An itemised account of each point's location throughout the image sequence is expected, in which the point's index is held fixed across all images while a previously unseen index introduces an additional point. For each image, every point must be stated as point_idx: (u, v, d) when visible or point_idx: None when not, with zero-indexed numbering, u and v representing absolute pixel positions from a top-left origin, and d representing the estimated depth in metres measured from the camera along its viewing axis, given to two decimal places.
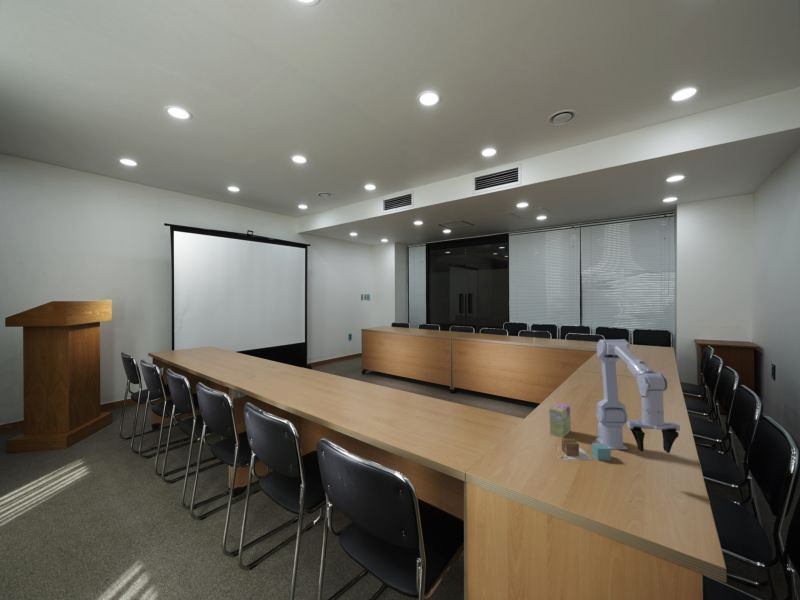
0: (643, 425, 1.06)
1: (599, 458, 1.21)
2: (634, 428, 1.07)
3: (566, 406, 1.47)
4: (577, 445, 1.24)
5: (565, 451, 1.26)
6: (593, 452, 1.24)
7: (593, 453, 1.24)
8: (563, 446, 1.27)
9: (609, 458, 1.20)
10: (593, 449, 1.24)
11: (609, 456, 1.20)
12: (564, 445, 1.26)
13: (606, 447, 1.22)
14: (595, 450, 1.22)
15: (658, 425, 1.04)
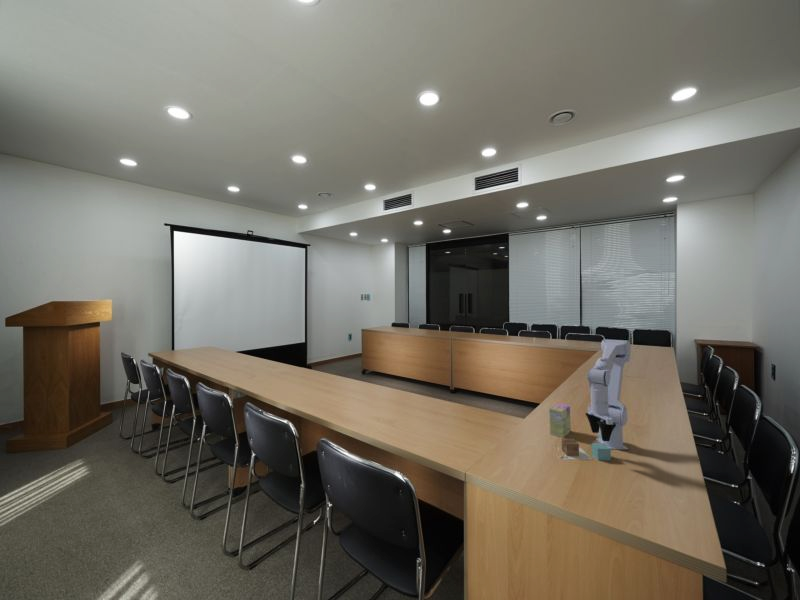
0: (589, 410, 1.27)
1: (599, 458, 1.21)
2: None
3: (566, 406, 1.47)
4: (577, 445, 1.24)
5: (565, 451, 1.26)
6: (593, 452, 1.24)
7: (593, 453, 1.24)
8: (563, 446, 1.27)
9: (609, 458, 1.20)
10: (593, 449, 1.24)
11: (609, 456, 1.20)
12: (564, 445, 1.26)
13: (606, 447, 1.22)
14: (595, 450, 1.22)
15: (591, 411, 1.23)
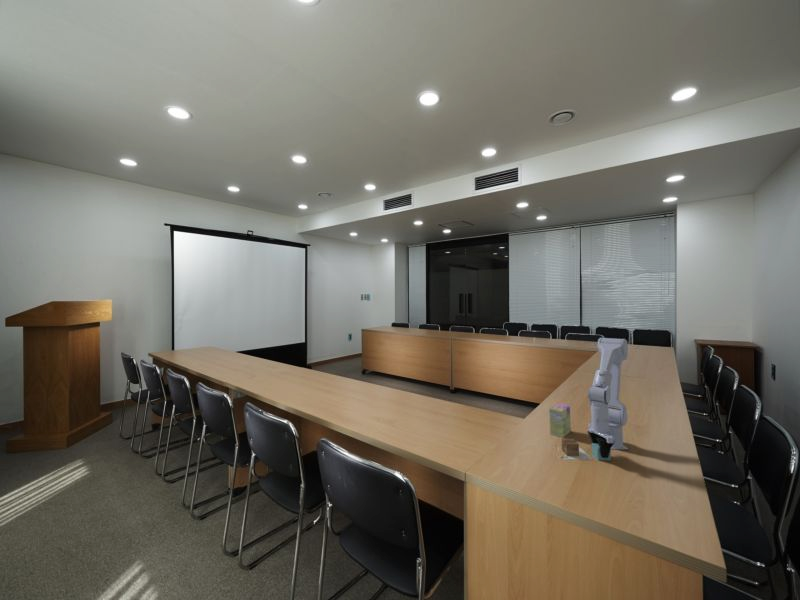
0: (590, 426, 1.27)
1: (599, 458, 1.21)
2: (590, 428, 1.29)
3: (566, 406, 1.47)
4: (577, 445, 1.24)
5: (565, 451, 1.26)
6: (593, 452, 1.24)
7: (593, 453, 1.24)
8: (563, 446, 1.27)
9: (609, 458, 1.20)
10: (593, 449, 1.24)
11: (609, 456, 1.20)
12: (564, 445, 1.26)
13: None
14: (595, 450, 1.22)
15: (592, 429, 1.23)
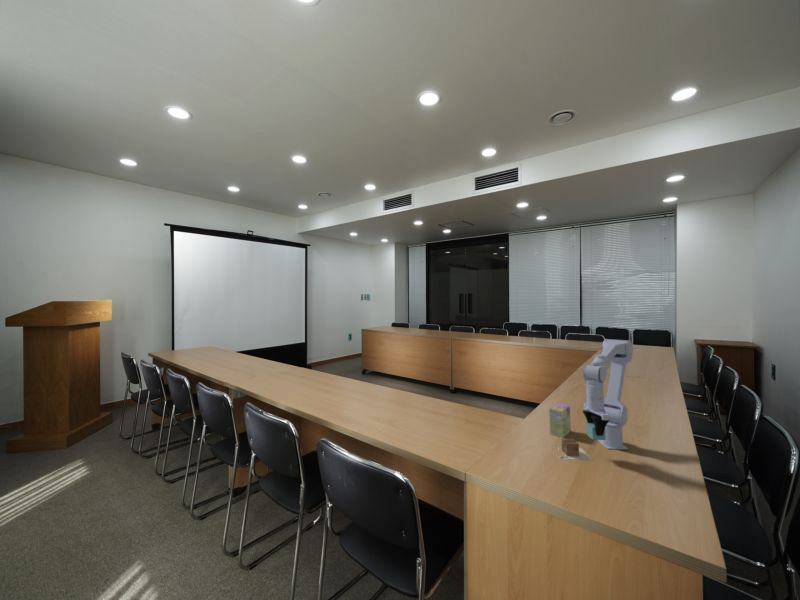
0: (585, 406, 1.27)
1: (594, 437, 1.21)
2: (585, 408, 1.29)
3: (566, 406, 1.47)
4: (577, 445, 1.24)
5: (565, 451, 1.26)
6: (588, 432, 1.24)
7: (588, 432, 1.24)
8: (563, 446, 1.27)
9: (604, 437, 1.21)
10: (588, 428, 1.24)
11: (604, 435, 1.21)
12: (564, 445, 1.26)
13: None
14: (590, 429, 1.23)
15: (587, 407, 1.23)
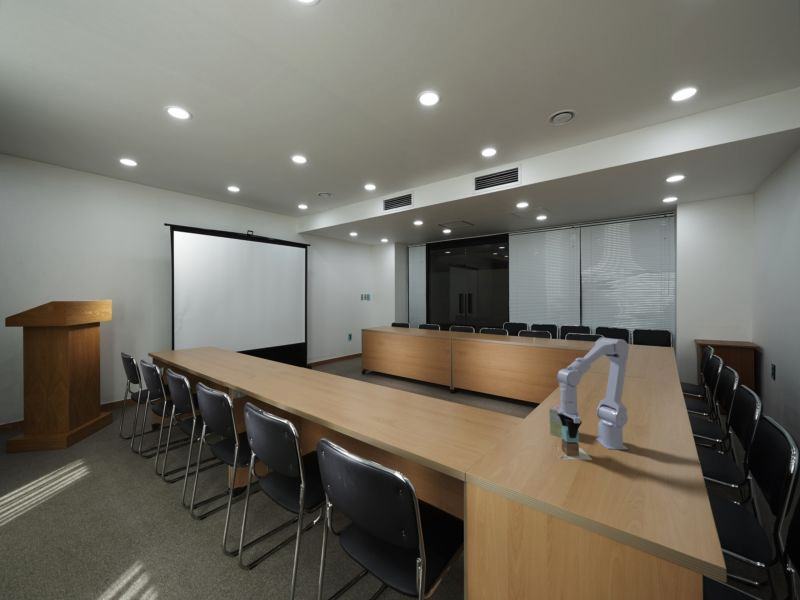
0: (560, 409, 1.31)
1: (568, 439, 1.25)
2: None
3: None
4: (577, 445, 1.24)
5: (565, 451, 1.26)
6: (563, 434, 1.28)
7: (563, 435, 1.28)
8: (563, 446, 1.27)
9: (577, 439, 1.24)
10: (563, 431, 1.28)
11: (577, 437, 1.24)
12: (564, 445, 1.26)
13: None
14: (564, 432, 1.26)
15: (561, 410, 1.27)
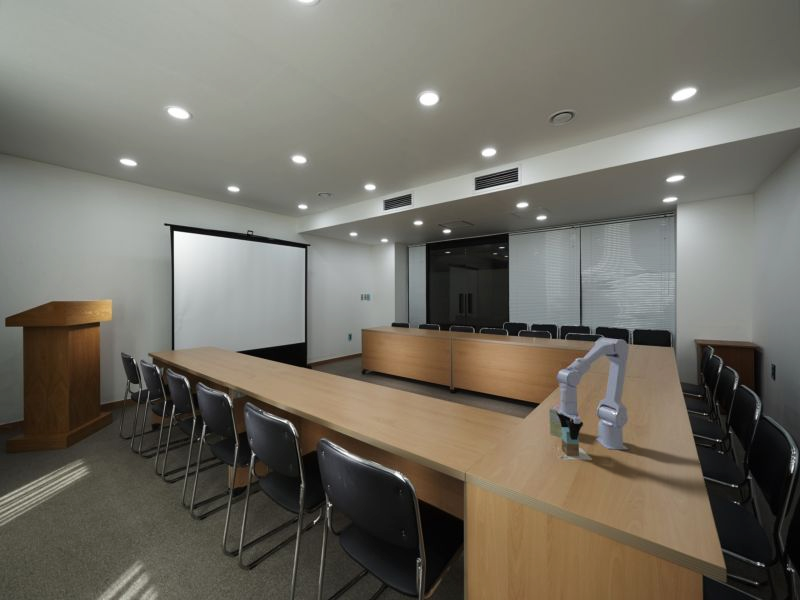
0: (560, 409, 1.31)
1: (568, 441, 1.25)
2: None
3: None
4: (577, 445, 1.24)
5: (565, 451, 1.26)
6: (563, 436, 1.28)
7: (563, 436, 1.28)
8: (563, 446, 1.27)
9: (577, 441, 1.24)
10: (563, 433, 1.28)
11: (577, 439, 1.24)
12: (564, 445, 1.26)
13: None
14: (564, 433, 1.26)
15: (561, 411, 1.27)
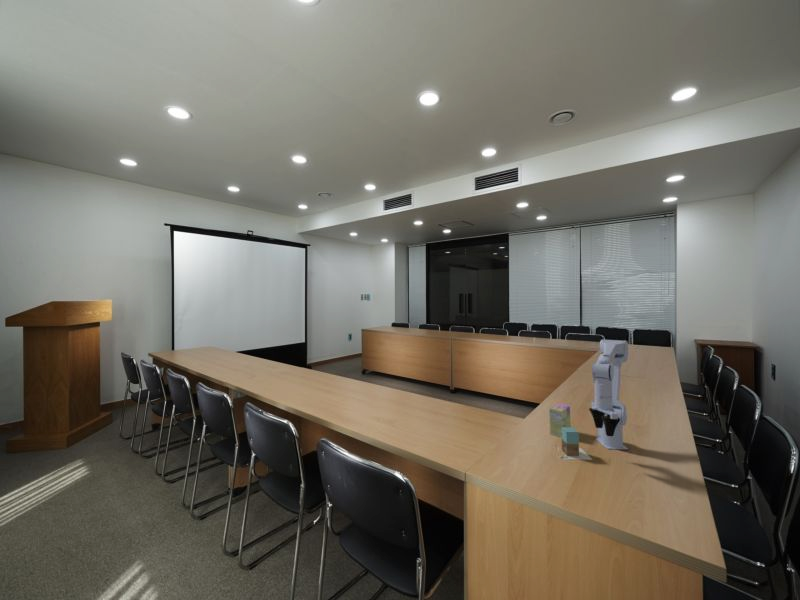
0: (593, 405, 1.26)
1: (568, 441, 1.25)
2: None
3: (566, 406, 1.47)
4: (577, 445, 1.24)
5: (565, 451, 1.26)
6: (563, 436, 1.28)
7: (563, 436, 1.28)
8: (563, 446, 1.27)
9: (577, 441, 1.24)
10: (563, 433, 1.28)
11: (577, 439, 1.24)
12: (564, 445, 1.26)
13: (575, 430, 1.25)
14: (564, 433, 1.26)
15: (595, 406, 1.22)
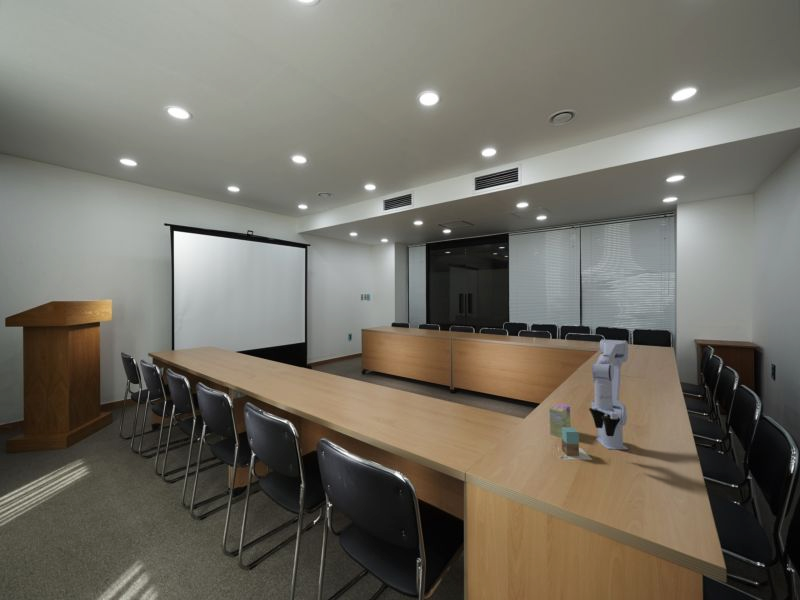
0: (593, 405, 1.26)
1: (568, 441, 1.25)
2: None
3: (566, 406, 1.47)
4: (577, 445, 1.24)
5: (565, 451, 1.26)
6: (563, 436, 1.28)
7: (563, 436, 1.28)
8: (563, 446, 1.27)
9: (577, 441, 1.24)
10: (563, 433, 1.28)
11: (577, 439, 1.24)
12: (564, 445, 1.26)
13: (575, 430, 1.25)
14: (564, 433, 1.26)
15: (595, 406, 1.22)
